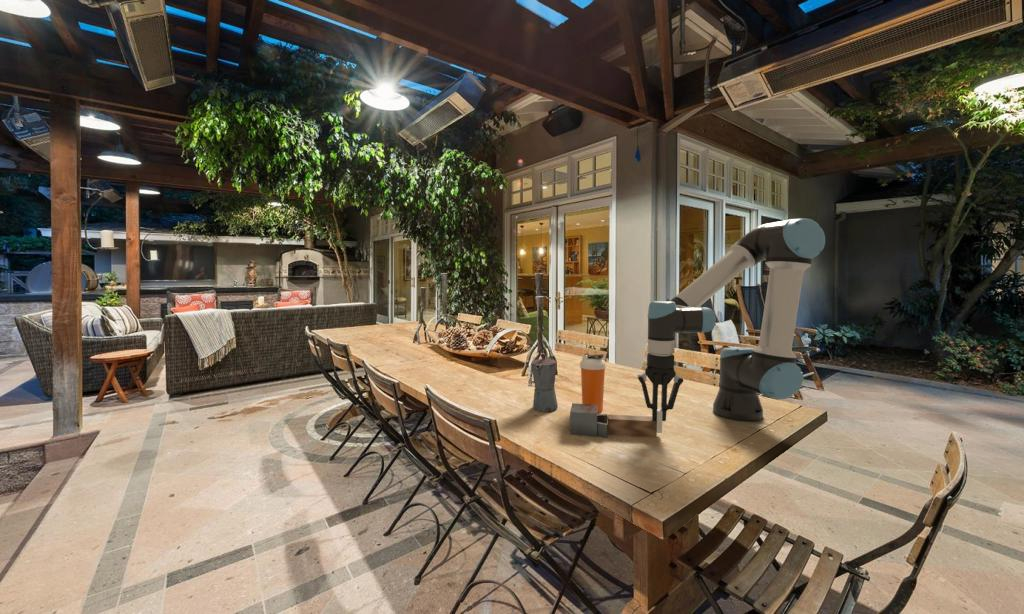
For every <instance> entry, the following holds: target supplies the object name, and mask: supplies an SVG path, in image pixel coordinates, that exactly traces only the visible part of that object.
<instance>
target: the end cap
mask: <svg viewBox="0 0 1024 614" xmlns="http://www.w3.org/2000/svg"><path fill="white" fill-rule="evenodd" d="M569 435H573V436H587V437H600V438H608V436H609V435H608V414H607V413H603V414H602V413H601V414H600V413H598V405H593V404H582V403H578V402H575V403H574V402H572V403H571V408H570V412H569Z"/></svg>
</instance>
